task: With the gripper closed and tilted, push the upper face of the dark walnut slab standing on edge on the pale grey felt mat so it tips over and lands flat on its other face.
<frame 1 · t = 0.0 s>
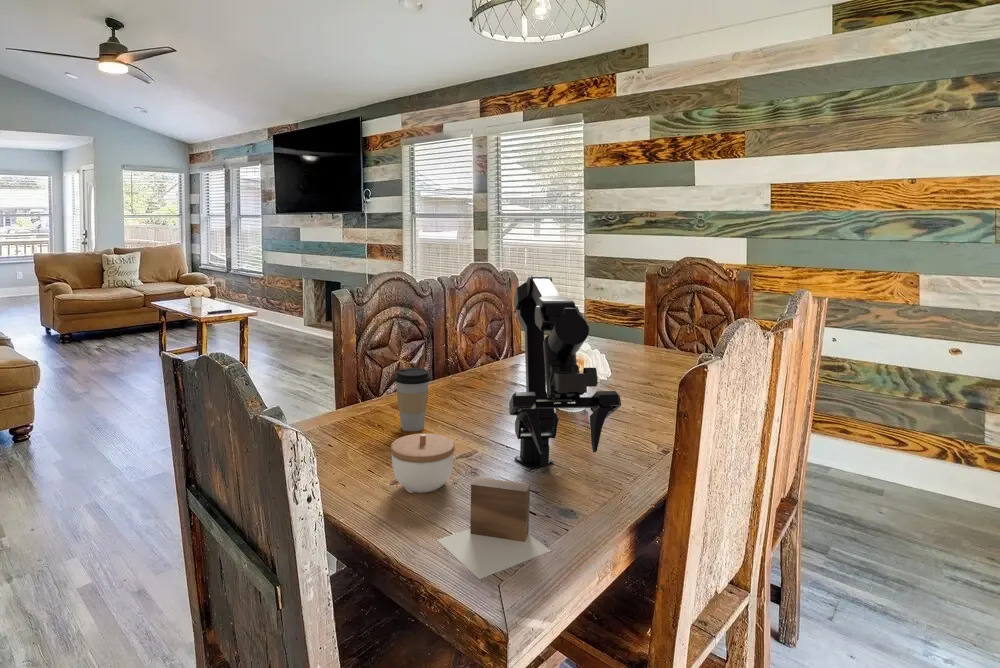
hand: (568, 452, 98), 15 cm above the table, tool tilted 35°, fingers open, 9 cm apart
lidded bowl: (422, 487, 118), on the table
walnut slab: (499, 533, 100), point 1 cm above the table, touching felt mat
coffee cup: (413, 428, 151), on the table
felt mat: (493, 548, 96), on the table
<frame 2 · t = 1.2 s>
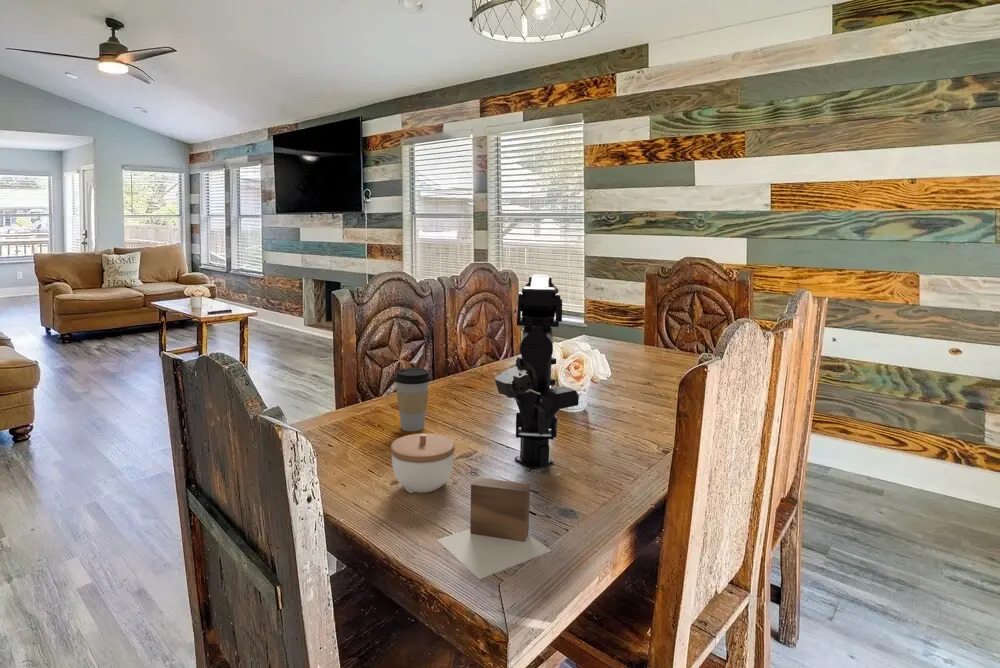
hand: (534, 430, 114), 13 cm above the table, tool pointing down, fingers open, 4 cm apart
nothing on the table moved.
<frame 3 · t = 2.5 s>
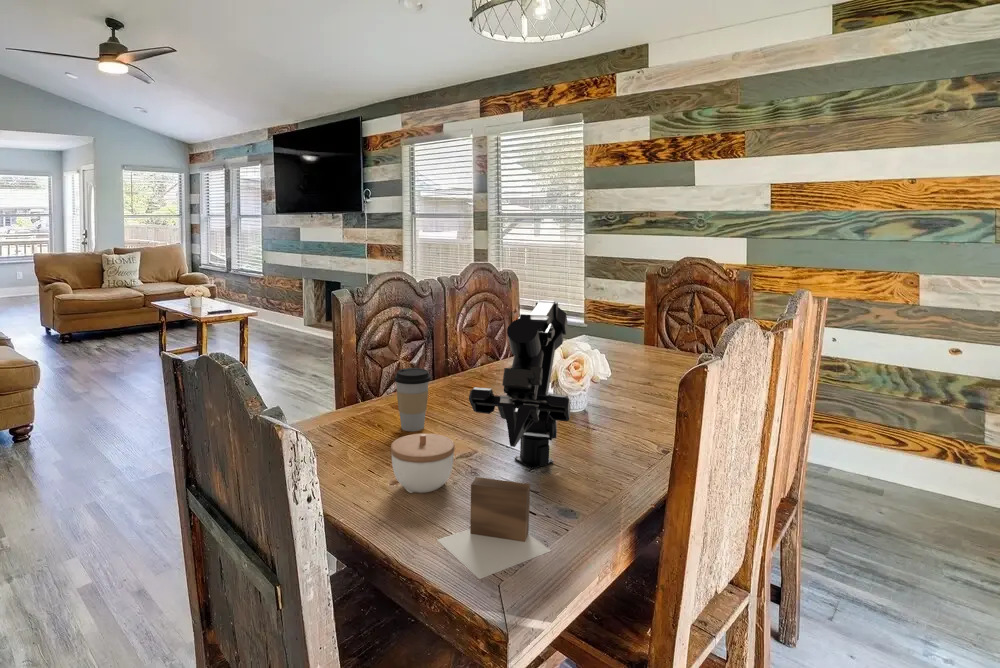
hand: (512, 445, 105), 13 cm above the table, tool tilted 45°, fingers closed
nothing on the table moved.
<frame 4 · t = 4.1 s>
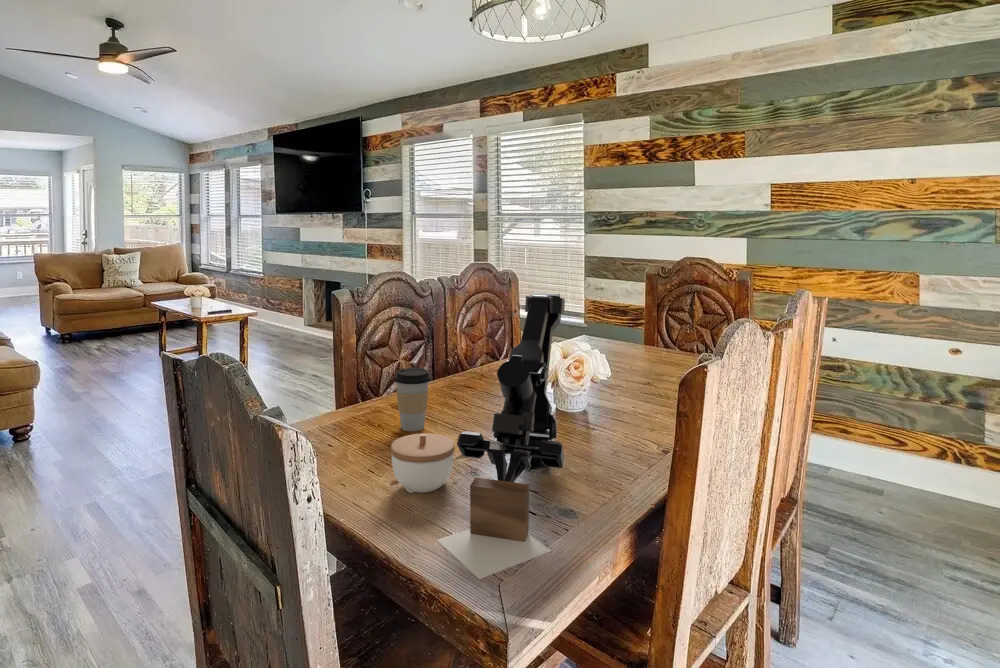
hand: (502, 495, 100), 7 cm above the table, tool tilted 45°, fingers closed
walnut slab: (499, 532, 100), point 1 cm above the table, touching felt mat, gripper
everything else where it was.
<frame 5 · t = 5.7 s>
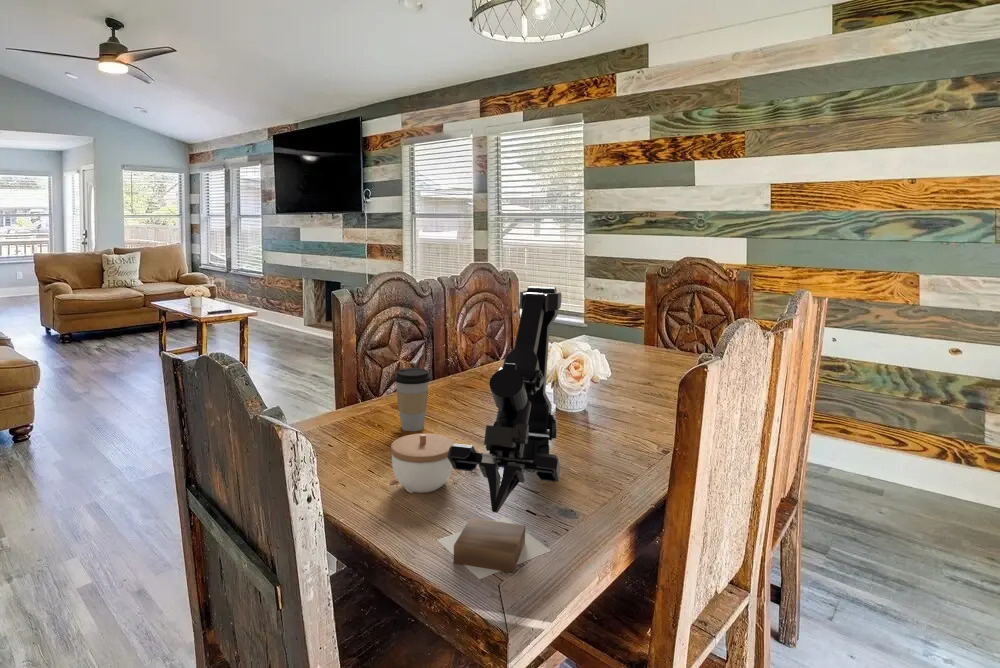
hand: (494, 511, 95), 7 cm above the table, tool tilted 45°, fingers closed
walnut slab: (497, 529, 98), point 2 cm above the table, tilted 90°, touching felt mat
everything else where it was.
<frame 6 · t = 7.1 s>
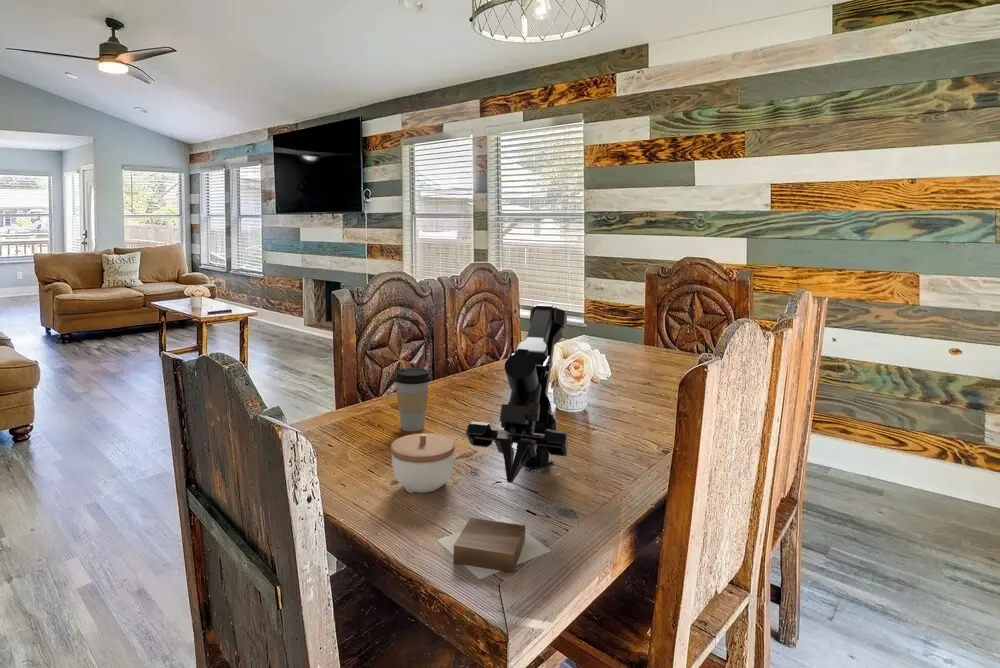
hand: (509, 482, 105), 7 cm above the table, tool tilted 45°, fingers closed
nothing on the table moved.
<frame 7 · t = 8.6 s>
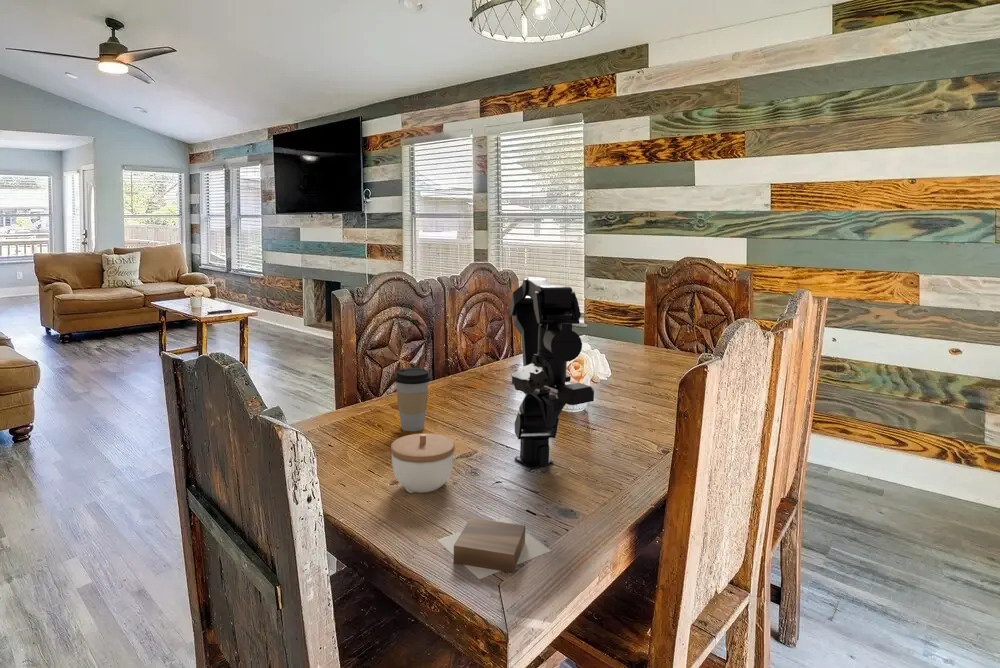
hand: (549, 426, 116), 13 cm above the table, tool pointing down, fingers closed
nothing on the table moved.
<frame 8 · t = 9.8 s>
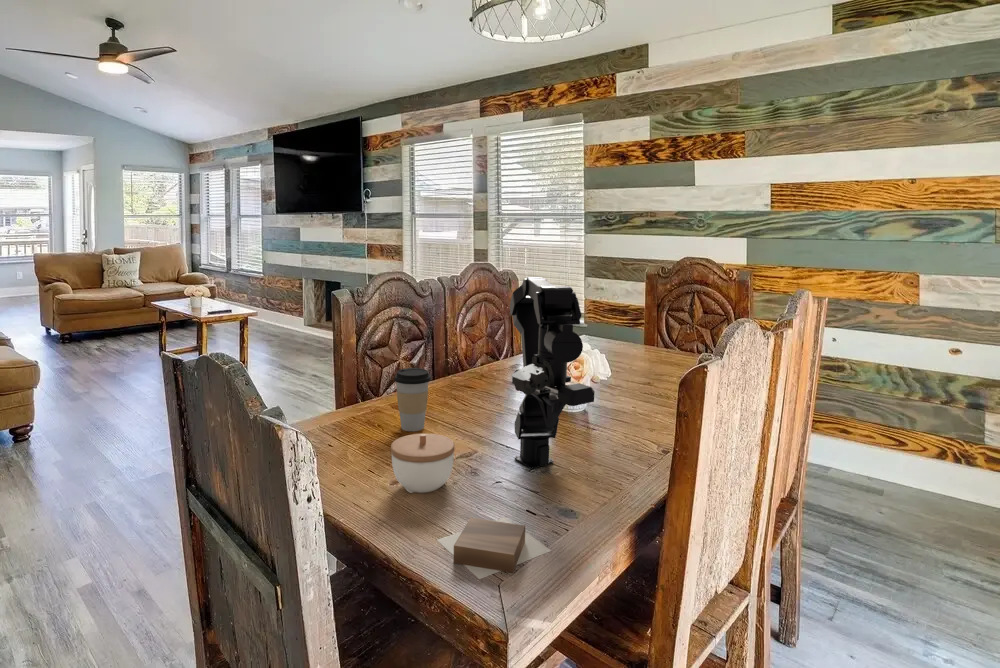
hand: (549, 427, 116), 13 cm above the table, tool pointing down, fingers closed
nothing on the table moved.
at the end: walnut slab tilted 90°; walnut slab inside the target area (2.7 cm from its centre), point 2.1 cm above the table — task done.
